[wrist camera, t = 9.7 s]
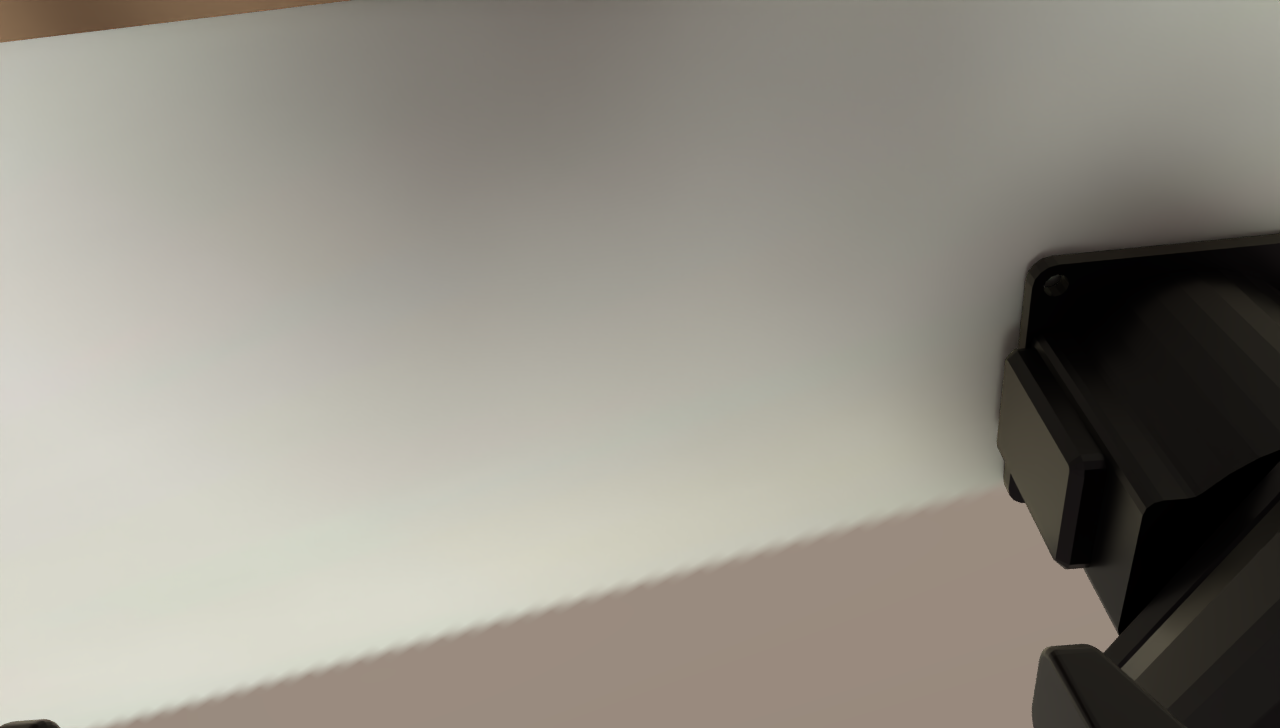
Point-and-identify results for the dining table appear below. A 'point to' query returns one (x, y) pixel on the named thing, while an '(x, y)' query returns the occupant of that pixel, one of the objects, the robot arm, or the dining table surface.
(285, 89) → the dining table surface
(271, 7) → the brown tray
